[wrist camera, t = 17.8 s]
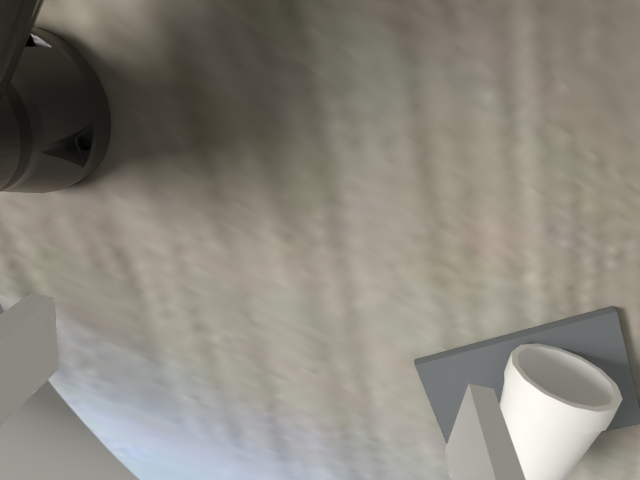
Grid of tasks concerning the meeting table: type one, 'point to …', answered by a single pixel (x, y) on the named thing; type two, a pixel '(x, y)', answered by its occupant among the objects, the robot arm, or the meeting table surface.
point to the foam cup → (554, 408)
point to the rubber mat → (568, 334)
